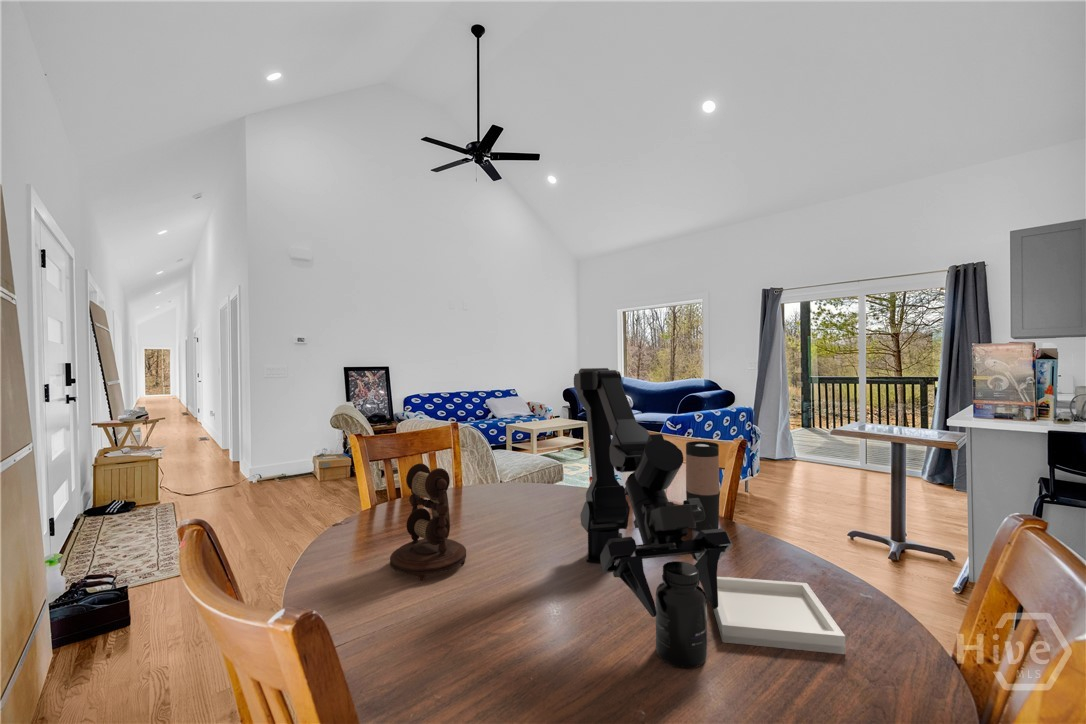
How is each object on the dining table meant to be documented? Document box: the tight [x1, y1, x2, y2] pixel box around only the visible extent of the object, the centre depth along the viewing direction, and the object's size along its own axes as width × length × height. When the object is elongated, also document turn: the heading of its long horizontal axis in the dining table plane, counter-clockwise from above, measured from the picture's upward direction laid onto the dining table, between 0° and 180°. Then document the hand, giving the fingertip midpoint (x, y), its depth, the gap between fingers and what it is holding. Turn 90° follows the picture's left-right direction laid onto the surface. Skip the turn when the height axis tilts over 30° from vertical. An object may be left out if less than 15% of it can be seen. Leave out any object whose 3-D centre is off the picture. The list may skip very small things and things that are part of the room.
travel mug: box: [685, 440, 720, 532], centre depth 117 cm, size 8×8×20 cm
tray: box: [712, 576, 846, 655], centre depth 76 cm, size 16×16×2 cm
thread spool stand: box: [389, 463, 467, 582], centre depth 97 cm, size 15×15×20 cm
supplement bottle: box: [655, 560, 708, 669], centre depth 67 cm, size 7×7×12 cm
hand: (685, 612), depth 66 cm, fingers open, 9 cm apart
